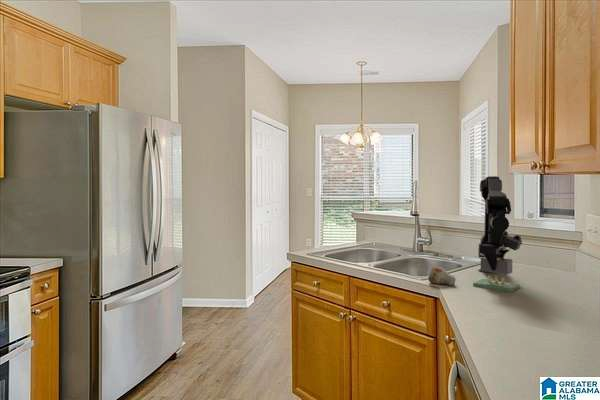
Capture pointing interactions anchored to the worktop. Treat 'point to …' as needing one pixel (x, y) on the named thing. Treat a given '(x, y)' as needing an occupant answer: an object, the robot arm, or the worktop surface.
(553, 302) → the worktop surface
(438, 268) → the grey lumpy rounded lump
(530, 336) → the worktop surface
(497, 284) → the board
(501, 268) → the block
